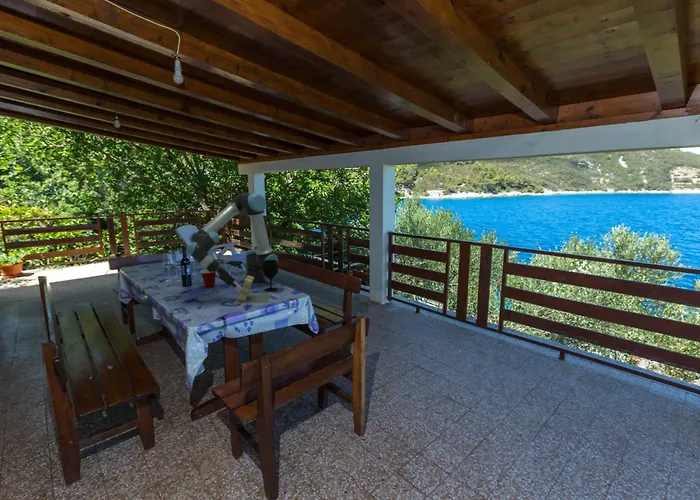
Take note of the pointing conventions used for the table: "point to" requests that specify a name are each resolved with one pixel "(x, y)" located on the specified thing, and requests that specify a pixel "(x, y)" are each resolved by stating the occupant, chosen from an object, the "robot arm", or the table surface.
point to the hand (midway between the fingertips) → (240, 290)
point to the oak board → (246, 288)
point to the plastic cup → (208, 278)
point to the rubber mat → (255, 299)
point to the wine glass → (270, 272)
